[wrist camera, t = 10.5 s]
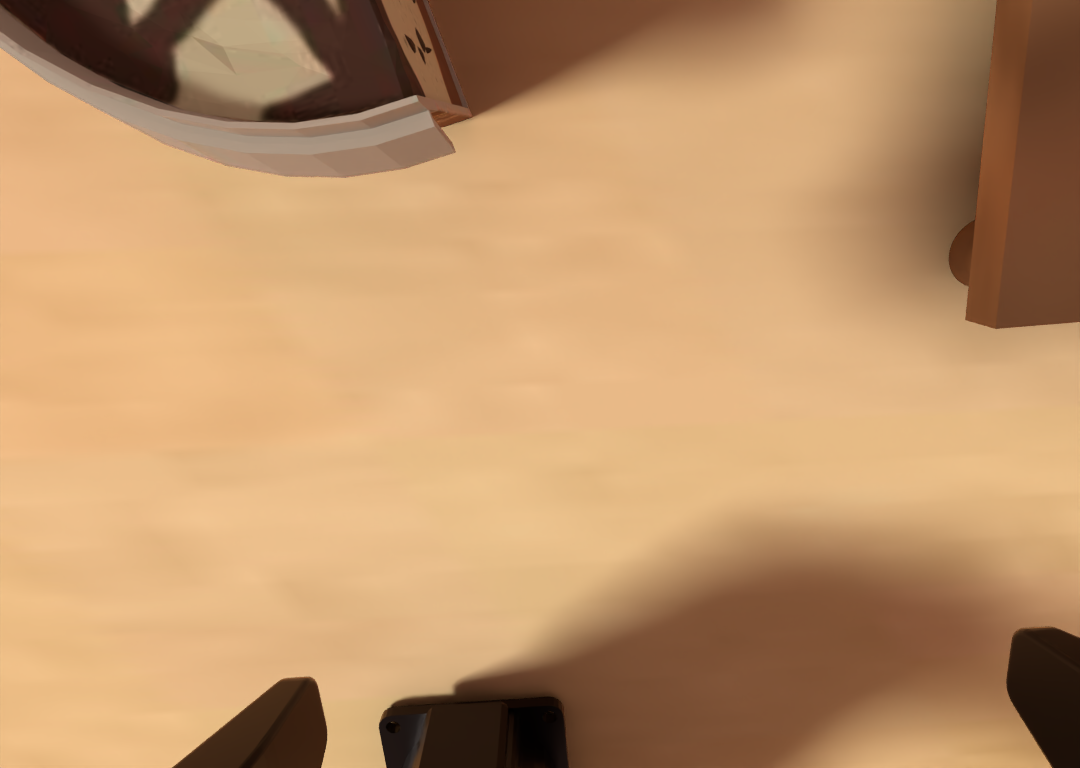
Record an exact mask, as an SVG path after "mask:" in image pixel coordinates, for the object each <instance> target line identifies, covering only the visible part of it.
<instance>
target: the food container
mask: <svg viewBox="0 0 1080 768" xmlns="http://www.w3.org/2000/svg"><path fill="white" fill-rule="evenodd" d="M0 48H1V49H3V50H4V51H6V52H7V53H8V54H10V55H11V56H13V57H14V58H15V59H17V60H18V61H19V62H21V63H22V64H24V65H25V66H26V67H28V68H29V69H31V70H32V71H33V72H35V73H36V74H37V75H39V76H40V77H42V78H43V79H44V80H46V81H47V82H49V83H51V84H52V85H54V86H56V87H58V88H60V89H62V90H63V91H65V92H67V93H69V94H71V95H73V96H74V97H76V98H78V99H80V100H82V101H84V102H86V103H87V104H89V105H91V106H93V107H95V108H97V109H98V110H100V111H102V112H104V113H106V114H108V115H110V116H111V117H113V118H115V119H117V120H119V121H121V122H123V123H125V124H127V125H129V126H131V127H133V128H135V129H136V130H138V131H140V132H142V133H144V134H146V135H148V136H150V137H152V138H154V139H156V140H158V141H159V142H161V143H163V144H165V145H168V146H171V147H174V148H176V149H179V150H182V151H185V152H188V153H191V154H194V155H197V156H199V157H202V158H205V159H208V160H211V161H214V162H217V163H220V164H223V165H225V166H231V167H236V168H242V169H247V170H253V171H258V172H264V173H269V174H275V175H281V176H289V177H344V178H346V177H352V176H359V175H366V174H373V173H379V172H386V171H393V170H399V169H405V168H408V167H411V166H415V165H418V164H421V163H424V162H427V161H430V160H433V159H436V158H439V157H443V156H446V155H449V154H452V153H455V149H454V146H453V144H452V142H451V141H450V139H449V138H448V137H447V136H446V134H445V133H444V132H443V130H442V129H441V128H440V127H445V126H448V125H451V124H454V123H457V122H460V121H463V120H466V119H469V118H472V114H471V112H470V109H469V107H468V104H467V101H466V99H465V96H464V94H463V91H462V88H461V86H460V83H459V81H458V78H457V75H456V73H455V70H454V68H453V65H452V63H451V60H450V57H449V55H448V52H447V50H446V47H445V44H444V42H443V39H442V37H441V34H440V32H439V29H438V26H437V24H436V21H435V19H434V16H433V13H432V11H431V8H430V6H429V3H428V0H0Z"/></svg>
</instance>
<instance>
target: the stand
mask: <svg viewBox="0 0 1080 768" xmlns="http://www.w3.org/2000/svg"><path fill="white" fill-rule="evenodd" d="M949 265H950V269H951V271H952V273H953V275H954V276H955V278H956V279H957V280H958V281H960V282H961V283H963V284H964V285H967V286H969V289H968V299H967V309H966V319H965V320H967V321H971V322H974V323H978V324H981V325H984V326H988V327H991V328H995V329H999V328H1011V327H1023V326H1035V325H1048V324H1060V323H1072V322H1080V0H997V7H996V17H995V27H994V37H993V47H992V57H991V67H990V77H989V87H988V97H987V107H986V118H985V128H984V138H983V148H982V158H981V168H980V178H979V188H978V198H977V208H976V218H975V221H973V222H971V223H969V224H968V225H966V226H965V227H964V228H963V229H962V230H961V231H960V232H959V233H958V235H957V236H956V237H955V239H954V241H953V243H952V245H951V248H950V253H949Z"/></svg>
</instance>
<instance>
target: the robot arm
mask: <svg viewBox="0 0 1080 768" xmlns="http://www.w3.org/2000/svg"><path fill="white" fill-rule="evenodd" d="M1006 684H1007V691H1008V694H1009V697H1010V699H1011V702H1012V703H1013V705H1014V707H1015V709H1016V710H1017V712H1018V713H1019V715H1020V717H1021V718H1022V720H1023V721H1024V723H1025V725H1026V726H1027V728H1028V730H1029V731H1030V733H1031V734H1032V736H1033V738H1034V739H1035V741H1036V742H1037V744H1038V746H1039V747H1040V749H1041V750H1042V752H1043V754H1044V755H1045V757H1046V759H1047V760H1048V762H1049V763H1050V765H1051V767H1052V768H1080V638H1079V637H1076V636H1074V635H1072V634H1069V633H1067V632H1065V631H1062V630H1060V629H1057V628H1055V627H1031V628H1021V629H1019V630H1017V631H1016V632H1015V633H1014V635H1013V637H1012V643H1011V650H1010V657H1009V664H1008V672H1007V679H1006ZM548 711H551V712H554V713H553V714H546V713H545V712H548ZM392 721H393V722H397V723H398V724H393V723H391V722H392ZM379 730H380V736H381V741H382V746H383V751H384V756H385V762H386V767H387V768H569V763H568V752H567V741H566V731H565V720H564V709H563V705H562V703H561V702H560V701H559V700H558V699H556V698H554V697H539V698H524V699H508V700H493V701H478V702H463V703H448V704H432V705H417V706H402V707H392V708H388V709H387V710H385V711H384V713H383V714H382V717H381V720H380V723H379ZM326 743H327V726H326V721H325V716H324V712H323V707H322V703H321V698H320V694H319V689H318V685H317V683H316V681H315V679H313V678H311V677H295V678H285V679H282V680H280V681H279V682H277V683H276V684H275V685H273V686H272V687H271V688H270V689H268V690H267V691H266V692H265V693H263V694H262V695H261V696H260V697H259V698H257V699H256V700H255V701H254V702H252V703H251V704H250V705H249V706H247V707H246V708H245V709H244V710H243V711H241V712H240V713H239V714H238V715H236V716H235V717H234V718H233V719H231V720H230V721H229V722H228V723H227V724H225V725H224V726H223V727H222V728H220V729H219V730H218V731H217V732H215V733H214V734H213V735H212V736H211V737H209V738H208V739H207V740H206V741H204V742H203V743H202V744H201V745H199V746H198V747H197V748H196V749H195V750H193V751H192V752H191V753H190V754H188V755H187V756H186V757H185V758H183V759H182V760H181V761H180V762H179V763H177V764H176V765H175V766H174V767H172V768H321V766H322V762H323V757H324V753H325V749H326Z"/></svg>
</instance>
